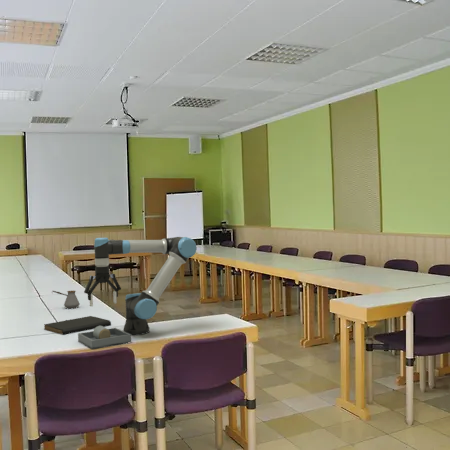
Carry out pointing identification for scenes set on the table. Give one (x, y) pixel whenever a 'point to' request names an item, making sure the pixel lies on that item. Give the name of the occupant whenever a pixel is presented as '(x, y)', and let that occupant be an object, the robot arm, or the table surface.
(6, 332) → the table surface
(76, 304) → the coffee pot
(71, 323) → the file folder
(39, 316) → the table surface
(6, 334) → the table surface
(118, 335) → the bin
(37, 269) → the table surface
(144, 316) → the robot arm
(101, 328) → the ceramic mug
